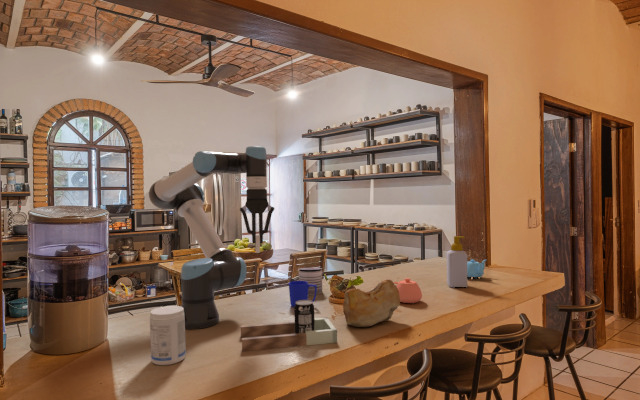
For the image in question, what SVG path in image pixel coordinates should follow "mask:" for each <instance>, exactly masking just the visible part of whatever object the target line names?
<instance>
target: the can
mask: <svg viewBox="0 0 640 400" xmlns="http://www.w3.org/2000/svg"><path fill="white" fill-rule="evenodd" d="M298 281H306V282H308V284H311V285H317V291H316V295H321V294H322V293H323V268H322V267H321V268H320V267H302V268H301V267H299V269H298ZM314 294H315V287H313V286H310V287H309V288H308V296H314Z"/></svg>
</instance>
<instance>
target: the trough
mask: <svg viewBox="0 0 640 400" xmlns="http://www.w3.org/2000/svg"><path fill="white" fill-rule="evenodd" d="M240 338H241V348H242V349H241V351H242V352H247V351H259V350H270V349H281V348H292V347H294V348H295V347H304V346H308V345H307V340H306V333H297V334H295V321H287V322H286V321H285V322H273V323H260V324H248V325H240Z"/></svg>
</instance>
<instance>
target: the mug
mask: <svg viewBox="0 0 640 400" xmlns="http://www.w3.org/2000/svg"><path fill="white" fill-rule="evenodd" d="M310 286H313V287H315V294H314V295H313V299H312V300H311V301H313V303H315V301H316V297H317V294H316V291H317V285H311V284H308V282H306V281H299V280H292V281H289V282H288V291H289V303H290V305H291V307H293V308H294V307H295V305H296V301H299V300H309V298H308V297H309V295H308V288H309V287H310Z"/></svg>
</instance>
